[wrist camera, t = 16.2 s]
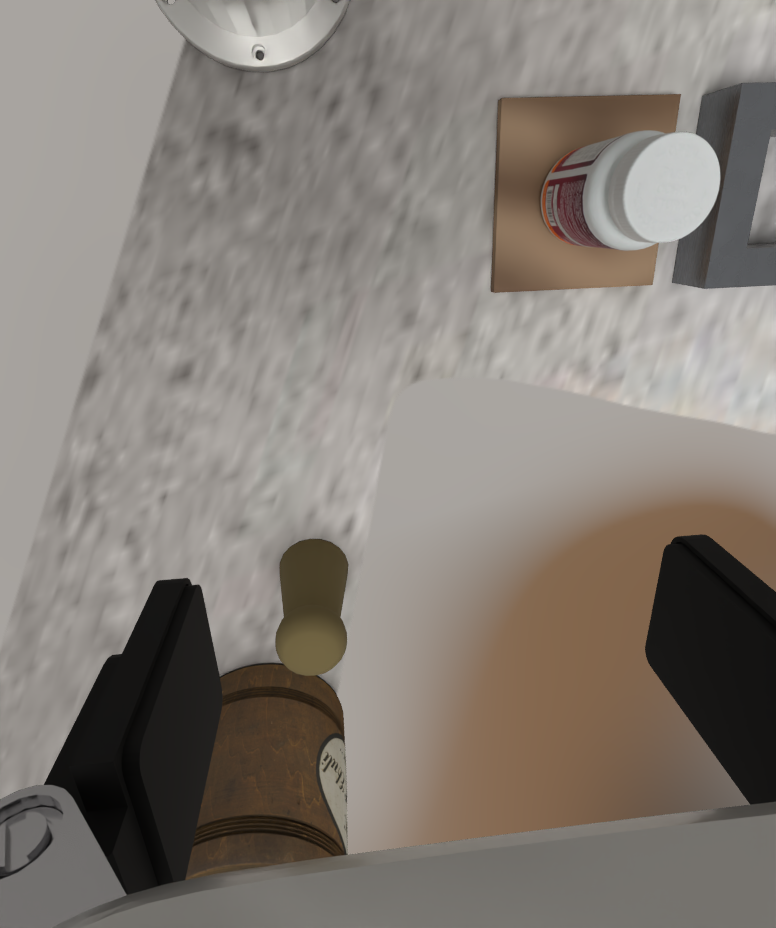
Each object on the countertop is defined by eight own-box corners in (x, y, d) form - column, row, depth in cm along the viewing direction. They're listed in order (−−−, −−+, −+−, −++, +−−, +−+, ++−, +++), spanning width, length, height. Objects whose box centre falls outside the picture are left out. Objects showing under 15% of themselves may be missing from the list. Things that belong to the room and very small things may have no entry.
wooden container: (321, 780, 61) (319, 1058, 40) (180, 761, 57) (102, 1052, 37) (362, 676, 55) (383, 937, 35) (209, 649, 52) (136, 919, 32)
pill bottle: (591, 260, 41) (680, 276, 30) (521, 218, 39) (590, 219, 29) (642, 175, 39) (756, 161, 28) (570, 127, 37) (664, 93, 27)
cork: (274, 543, 48) (260, 628, 38) (344, 534, 49) (349, 617, 39) (284, 600, 51) (274, 694, 41) (351, 592, 51) (357, 683, 41)
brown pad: (498, 100, 37) (501, 98, 36) (673, 96, 38) (680, 94, 37) (491, 291, 42) (493, 292, 41) (646, 283, 43) (652, 285, 42)
